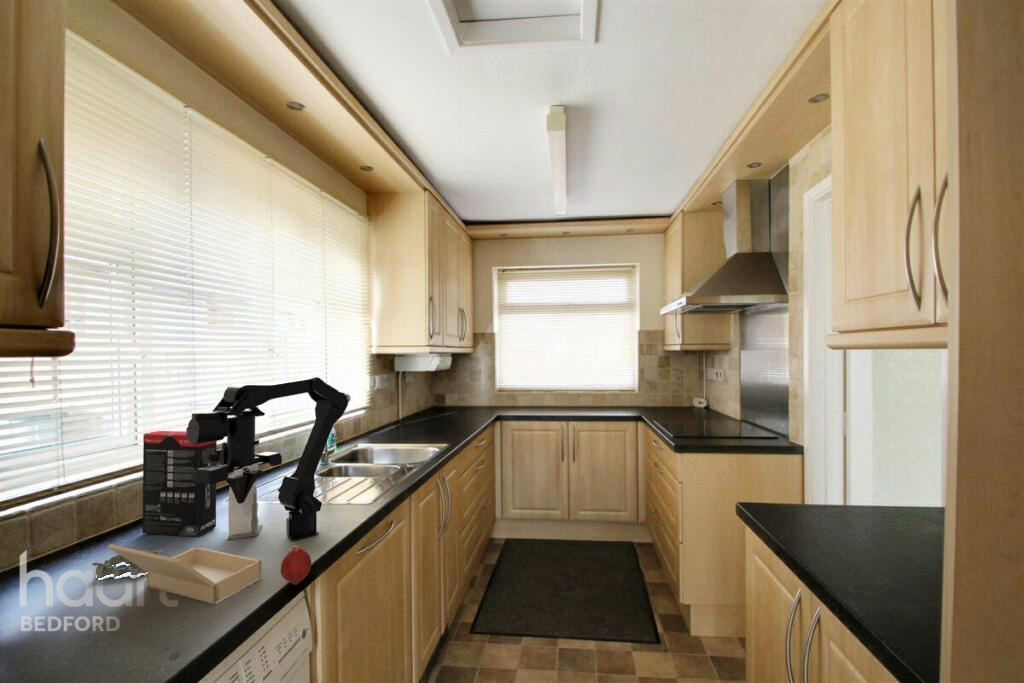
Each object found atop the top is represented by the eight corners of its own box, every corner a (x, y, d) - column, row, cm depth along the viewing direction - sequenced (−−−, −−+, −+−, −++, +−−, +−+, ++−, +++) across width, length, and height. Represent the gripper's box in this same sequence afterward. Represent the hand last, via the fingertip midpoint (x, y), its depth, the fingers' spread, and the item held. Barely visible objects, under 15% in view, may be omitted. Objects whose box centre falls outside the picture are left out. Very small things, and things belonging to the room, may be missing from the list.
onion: (282, 579, 93) (282, 541, 93) (312, 574, 95) (312, 537, 95) (278, 593, 87) (278, 553, 87) (309, 588, 89) (310, 548, 89)
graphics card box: (218, 527, 121) (219, 429, 121) (198, 538, 114) (199, 434, 114) (162, 525, 122) (163, 429, 123) (139, 536, 115) (140, 433, 116)
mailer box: (196, 564, 100) (196, 547, 100) (261, 579, 93) (261, 560, 93) (147, 586, 90) (147, 567, 90) (215, 605, 83) (215, 584, 83)
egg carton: (88, 583, 93) (88, 563, 93) (118, 565, 100) (118, 547, 100) (139, 581, 93) (139, 561, 93) (166, 563, 100) (166, 546, 101)
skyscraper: (220, 541, 112) (221, 432, 113) (228, 529, 119) (229, 427, 120) (258, 535, 115) (258, 430, 116) (262, 524, 123) (263, 425, 123)
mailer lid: (110, 543, 84) (107, 546, 84) (180, 559, 78) (177, 563, 77) (147, 567, 90) (145, 570, 90) (215, 584, 83) (213, 587, 83)
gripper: (251, 428, 115) (251, 488, 114) (176, 442, 97) (175, 512, 97) (283, 430, 111) (283, 492, 110) (211, 445, 93) (210, 518, 93)
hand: (240, 503), depth 103 cm, fingers closed
